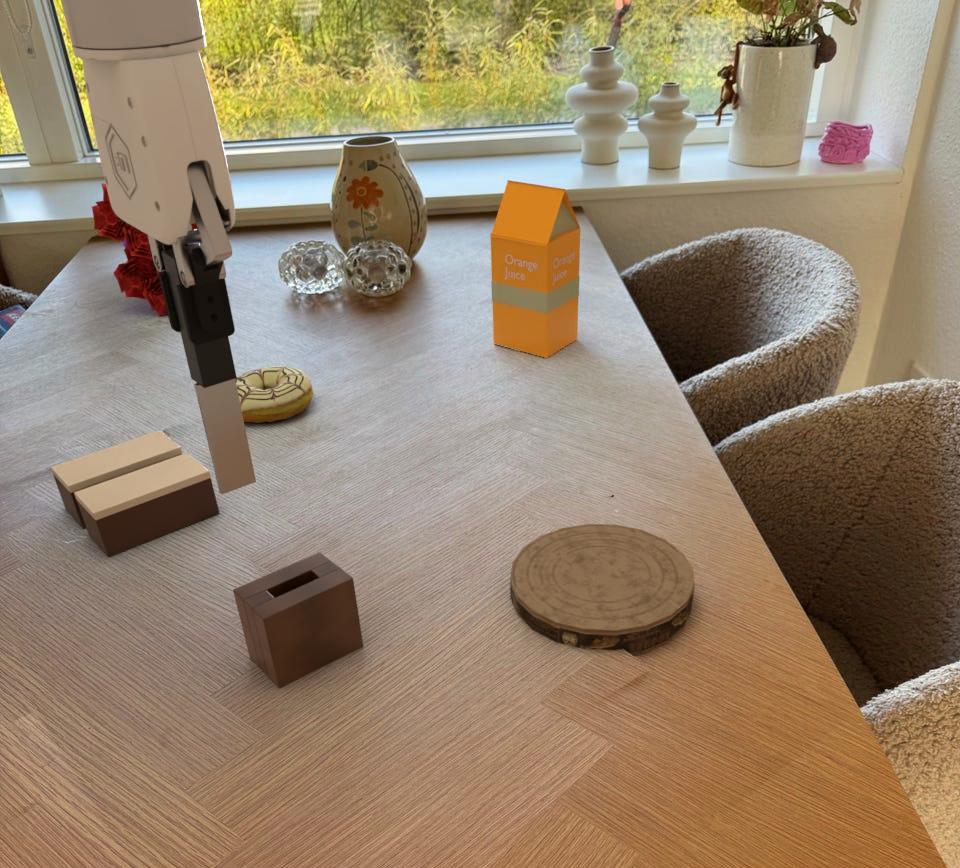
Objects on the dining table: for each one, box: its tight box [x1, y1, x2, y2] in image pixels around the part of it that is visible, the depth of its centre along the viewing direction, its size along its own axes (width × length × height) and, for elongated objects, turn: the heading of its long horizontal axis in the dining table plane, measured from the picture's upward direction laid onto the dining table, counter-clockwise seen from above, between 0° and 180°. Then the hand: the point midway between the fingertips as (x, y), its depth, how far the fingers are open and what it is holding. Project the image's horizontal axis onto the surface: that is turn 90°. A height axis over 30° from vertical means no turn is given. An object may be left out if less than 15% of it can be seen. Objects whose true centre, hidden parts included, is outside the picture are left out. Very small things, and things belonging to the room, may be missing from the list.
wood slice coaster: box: [509, 523, 696, 657], centre depth 84 cm, size 16×16×3 cm
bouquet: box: [91, 182, 201, 316], centre depth 151 cm, size 20×16×30 cm
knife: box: [162, 244, 257, 495], centre depth 69 cm, size 3×2×18 cm
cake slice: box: [74, 452, 220, 557], centre depth 96 cm, size 12×5×5 cm, turn 128°
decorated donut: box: [235, 365, 314, 424], centre depth 116 cm, size 10×11×4 cm
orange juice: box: [490, 179, 581, 359], centre depth 124 cm, size 8×9×20 cm
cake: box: [50, 430, 183, 529], centre depth 100 cm, size 12×5×5 cm, turn 128°
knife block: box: [232, 551, 364, 689], centre depth 77 cm, size 8×5×8 cm, turn 128°
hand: (203, 330), depth 67 cm, fingers closed on knife, 2 cm apart
